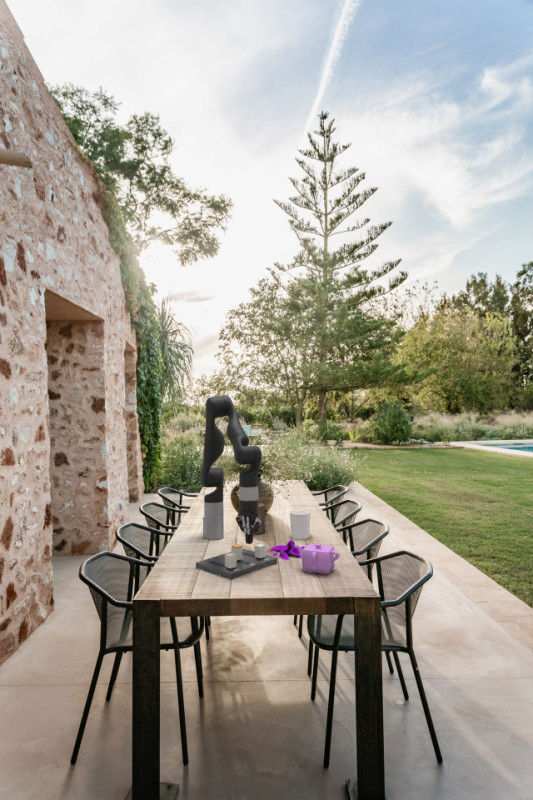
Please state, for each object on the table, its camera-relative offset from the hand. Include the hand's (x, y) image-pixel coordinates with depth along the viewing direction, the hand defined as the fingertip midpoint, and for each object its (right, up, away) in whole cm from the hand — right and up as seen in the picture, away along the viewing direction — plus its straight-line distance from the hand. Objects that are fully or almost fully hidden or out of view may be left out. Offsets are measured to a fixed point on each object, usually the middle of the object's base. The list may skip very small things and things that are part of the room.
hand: (249, 543), depth 185 cm
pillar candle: (+1, -11, +55) cm, 56 cm away
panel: (-5, -10, +5) cm, 12 cm away
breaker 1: (-7, -7, -4) cm, 11 cm away
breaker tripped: (-5, -7, +5) cm, 10 cm away
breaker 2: (+4, -7, +7) cm, 11 cm away
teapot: (+26, -10, -2) cm, 28 cm away
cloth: (+16, -11, +19) cm, 27 cm away
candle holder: (+23, -11, +45) cm, 51 cm away
